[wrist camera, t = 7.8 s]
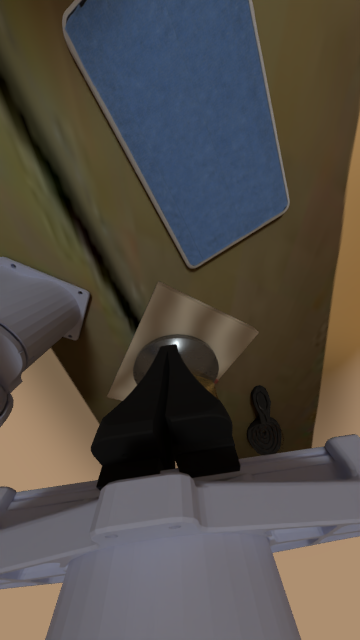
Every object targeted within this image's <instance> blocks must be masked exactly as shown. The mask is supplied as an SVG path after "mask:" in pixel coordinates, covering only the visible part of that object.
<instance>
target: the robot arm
mask: <svg viewBox="0 0 360 640" xmlns="http://www.w3.org/2000/svg"><path fill="white" fill-rule="evenodd" d="M14 265H15V266H16V267H15V266H14ZM80 291H81V292H82V293H83V294H80ZM89 298H90V293H89V292H88V291H86V290H84V289H82V288H79V287H77V286H74V285H72V284H69V283H67V282H65V281H62V280H60V279H57V278H55V277H52V276H50V275H48V274H45V273H43V272H40V271H38V270H35V269H33V268H31V267H28V266H26V265H23V264H21V263H18V262H16V261H14V260H11V259H9V258H6V257H0V427H1V426H2V425H3V423H4V422H5V421H6V419H7V418H8V416H9V414H10V413H11V411H12V408H13V397H12V395H11V394H10V393H11V392H12V391H13V390H14V389H15V388H16V387H17V386H18V385H19V384H20V383H21V382H22V380H21V374H22V372H23V371H25V370H26V369H27V368H28V367H29V366H30V365H31V364H32V363H34V362H35V361H36V360H37V359H38V358H39V357H40V356H42V355H43V354H44V353H45V352H46V351H47V350H48V349H49V348H51V347H52V346H53V345H54V344H55V343H56V342H57V341H58V340H60V339H61V338H62V337H65V338H68V339H72V340H77V339H78V338H79V336H80V332H81V328H82V324H83V320H84V317H85V313H86V309H87V305H88V302H89ZM70 335H71V336H70ZM234 446H235V444H234V440H233V437H232V421H231V419H230V417H229V415H228V413H227V411H226V409H225V408H224V406H223V404H222V403H221V401H220V400H219V399H217V398H216V397H215V396H214V395H212V394H211V393H210V392H209V391H208V390H207V389H206V388H205V387H204V386H203V385H202V384H201V383H200V382H199V381H198V380H197V379H196V378H195V377H194V375H193V374H192V373H191V372H190V370H189V369H188V368H187V366H186V364H185V363H184V361H183V359H182V358H181V356H180V354H179V351H178V348H177V345H176V344H172V345H165V346H161V347H160V348H159V351H158V353H157V355H156V357H155V359H154V361H153V363H152V364H151V366H150V368H149V369H148V371H147V372H146V374H145V375H144V377H143V378H142V380H141V381H140V382H139V383H138V385H137V386H136V387H135V388H134V389H133V391H132V392H131V393H130V394H129V395H128V396H127V397H126V398H125V399H124V400H123V401H122V402H121V403H120V404H119V405H118V406H117V407H115V408H114V409H113V410H112V411H111V412H110V413H108V414H107V415H106V416H105V417H104V418H103V419H102V421H101V423H100V425H99V428H98V430H97V433H96V435H95V438H94V441H93V443H92V446H91V452H92V454H93V455H94V457H95V458H96V459H97V460H98V461H99V462H100V464H101V465H102V469H101V472H100V475H99V479H98V480H95V481H89V482H82V483H75V484H69V485H62V486H56V487H48V488H42V489H36V490H28V491H21V492H16V490H14V489H12V488H10V487H0V589H7V588H15V587H24V586H34V585H43V584H53V583H63V584H62V587H61V591H60V594H59V597H58V600H57V603H56V607H55V610H54V613H53V617H52V620H51V623H50V626H49V630H48V632H47V636H46V639H45V640H301V638H300V635H299V632H298V629H297V626H296V623H295V620H294V617H293V614H292V611H291V608H290V605H289V602H288V599H287V596H286V593H285V590H284V587H283V584H282V581H281V578H280V575H279V572H278V569H277V566H276V563H275V560H274V557H273V554H272V553H274V552H279V551H284V550H290V549H295V548H300V547H305V546H310V545H315V544H321V543H326V542H331V541H336V540H341V539H347V538H352V537H358V536H360V438H359V437H358V435H355V434H352V435H345V436H339V437H334V438H331V439H329V440H328V441H327V442H326V444H325V446H324V447H318V448H311V449H304V450H297V451H290V452H284V453H277V454H270V455H264V456H257V457H250V458H243V459H238V456H237V453H236V450H235V447H234ZM175 460H176V463H177V466H178V468H176V469H175Z"/></svg>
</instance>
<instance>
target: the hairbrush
mask: <svg viewBox="0 0 360 640" xmlns="http://www.w3.org/2000/svg"><path fill="white" fill-rule="evenodd" d="M263 394H264V395H263ZM251 395H252V400H253V404H254V406H255V408H256V410H257V411H258V414H259V418H260V420H256V421H254V422H252V423H251V424H252V425H251V424H250V425H251V426H249V427H248V430H247V437H248V439H249V442H250V444H251V446H252V447H253V448H254V449H255V450H256V452H257V453H259V454H261V456H262V455H270V454H276V453H277V451H278V450H279V449H280V446H281V445H280V444H282V443H281V435H282V434H283V433H282V434H281V432H282V430H281V429H280V426H279V424H278V423H277V421H276V420H275V419H273V418H271V417H270V404H271V401H270V398H269V395H268V392H267V391H266V389H264V387H262V386H260V385H259V386H256V387H254V389H253V393H252V392H251ZM264 396H265V397H264ZM257 404H258V405H257ZM258 406H259V407H260V408H259V407H258ZM260 409H261V410H262V411H261V410H260ZM262 412H263V413H264V414H263V413H262ZM264 415H265V416H264ZM273 423H274V424H275V425H274V424H273ZM270 426H271V427H272V429H271V427H270ZM275 426H276V427H275ZM267 429H268V430H269V431H268V430H267ZM263 430H265V432H264V431H263ZM280 430H281V431H280ZM259 432H260V434H259ZM262 432H263V433H264V434H263V433H262ZM256 435H257V436H256ZM282 436H283V435H282ZM252 437H253V438H254V439H253V438H252ZM283 439H284V438H283ZM283 441H284V440H283ZM282 445H283V444H282ZM282 448H283V447H282ZM280 450H281V449H280ZM282 452H283V451H282Z"/></svg>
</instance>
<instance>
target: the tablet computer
mask: <svg viewBox="0 0 360 640" xmlns="http://www.w3.org/2000/svg"><path fill="white" fill-rule="evenodd" d="M62 28H63V34H64V38H65V41H66V43H67V46H68V49H69V51H70V53H71V55H72V56H73V58H74V60H75V62H76V64H77V65H78V67H79V69H80V71H81V73H82V75H83V76H84V78H85V80H86V82H87V84H88V86H89V87H90V89H91V91H92V93H93V95H94V96H95V98H96V100H97V102H98V104H99V106H100V107H101V109H102V111H103V113H104V115H105V116H106V118H107V120H108V122H109V124H110V126H111V128H112V129H113V131H114V133H115V135H116V137H117V139H118V140H119V142H120V144H121V146H122V148H123V150H124V151H125V153H126V155H127V157H128V159H129V161H130V162H131V164H132V166H133V168H134V170H135V172H136V174H137V175H138V177H139V179H140V181H141V183H142V185H143V186H144V188H145V190H146V192H147V194H148V196H149V197H150V199H151V201H152V203H153V205H154V207H155V208H156V210H157V212H158V214H159V216H160V218H161V219H162V221H163V223H164V225H165V227H166V229H167V230H168V232H169V234H170V236H171V238H172V239H173V241H174V243H175V245H176V247H177V249H178V250H179V252H180V254H181V256H182V258H183V260H184V261H185V263H186V265H187V266H188V267H189V268H191V269H193V268H197V267H199V266H200V265H202V264H203V263H205V262H207V261H208V260H210V259H212V258H213V257H215V256H216V255H218V254H220V253H221V252H223V251H224V250H226V249H228V248H229V247H231V246H232V245H234V244H236V243H237V242H239V241H240V240H242V239H244V238H245V237H247V236H248V235H250V234H252V233H253V232H255V231H257V230H258V229H260V228H261V227H263V226H265V225H266V224H268V223H270V222H271V221H273V220H274V219H276V218H278V217H279V216H281V215H282V214H284V213H285V212H286V210H287V209H288V207H289V202H290V200H289V195H288V189H287V184H286V179H285V173H284V168H283V163H282V158H281V153H280V147H279V142H278V137H277V132H276V126H275V121H274V116H273V110H272V105H271V100H270V94H269V89H268V84H267V78H266V73H265V68H264V62H263V57H262V52H261V47H260V42H259V37H258V31H257V26H256V21H255V14H254V8H253V3H252V0H74V1H73V3H72V4H71V5H70V6H69V7H68V8H67V9H66V11H65V12H64V14H63V19H62Z"/></svg>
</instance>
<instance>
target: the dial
mask: <svg viewBox="0 0 360 640" xmlns="http://www.w3.org/2000/svg"><path fill="white" fill-rule="evenodd" d="M172 344H176V345H177V348H178V351H179V354H180V356H181V358H182V359H183V361H184V363H185V364H186V366H187V368H188V369H189V370H190V372H191V373H192V374H193V375H194V377H195V378H196V379H197V380H198V381H199V382H200V383H201V384H202V385H203V386H204V387H205V388H206V389H207V390H208V391H209V392H210V393H211V394H212V395H214V396H215V397H216V398H217V399H218V396H217V393H216V390H215V387H214V382H215V380H216V378H217V376H218V371H219V364H218V360H217V358H216V355H215V353H214V351H213V350H212V348H211V347H210V346H209V345H208V344H207V343H205V342H204V341H202V340H201V339H198V338H196V337H193V336H189V335H183V334H172V335H166V336H162V337H159V338H157V339H155V340H153V341H151V342H149V343H148V344H147V345H145V346H144V347H143V348H142V349H141V350H140V352H139V353H138V355H137V357H136V360H135V363H134V367H133V376H134V380H135V382H136V384H137V385H138V383H139V382H140V381H141V380H142V378H143V377H144V375H145V374H146V372H147V371H148V369H149V368H150V366H151V364H152V363H153V361H154V359H155V357H156V355H157V353H158V351H159V348H160V347H161V346H165V345H172Z"/></svg>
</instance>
